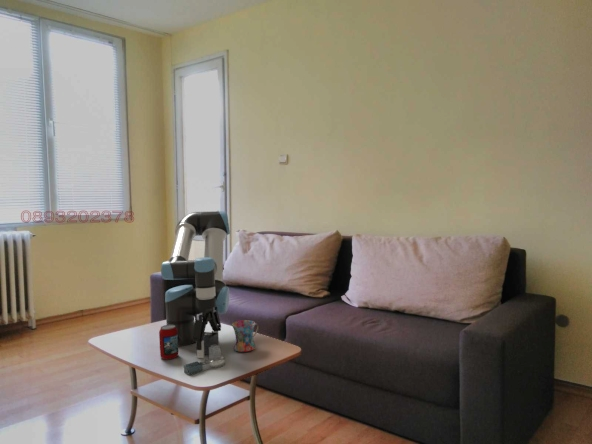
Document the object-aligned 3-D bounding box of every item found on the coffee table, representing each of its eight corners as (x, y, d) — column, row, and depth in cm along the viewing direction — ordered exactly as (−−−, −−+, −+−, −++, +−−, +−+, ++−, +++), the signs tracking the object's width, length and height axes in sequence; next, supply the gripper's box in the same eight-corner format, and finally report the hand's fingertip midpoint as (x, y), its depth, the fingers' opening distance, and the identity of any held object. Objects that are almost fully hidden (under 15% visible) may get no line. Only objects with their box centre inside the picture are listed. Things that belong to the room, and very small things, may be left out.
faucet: (182, 371, 158) (181, 351, 158) (218, 359, 169) (217, 340, 168) (191, 376, 153) (190, 356, 153) (228, 364, 163) (227, 345, 163)
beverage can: (168, 361, 168) (167, 330, 168) (156, 358, 172) (155, 327, 171) (182, 355, 174) (180, 325, 173) (170, 353, 178) (168, 323, 177)
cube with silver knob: (197, 354, 175) (196, 335, 174) (205, 349, 180) (204, 331, 180) (211, 355, 173) (210, 336, 172) (218, 350, 179) (218, 331, 178)
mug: (242, 355, 172) (241, 328, 172) (228, 350, 179) (227, 324, 178) (266, 347, 181) (265, 321, 180) (251, 342, 187) (250, 317, 187)
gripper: (211, 290, 188) (214, 341, 189) (180, 304, 165) (183, 362, 166) (228, 291, 185) (230, 343, 187) (199, 305, 163) (201, 364, 164)
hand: (208, 352), depth 177 cm, fingers open, 11 cm apart
